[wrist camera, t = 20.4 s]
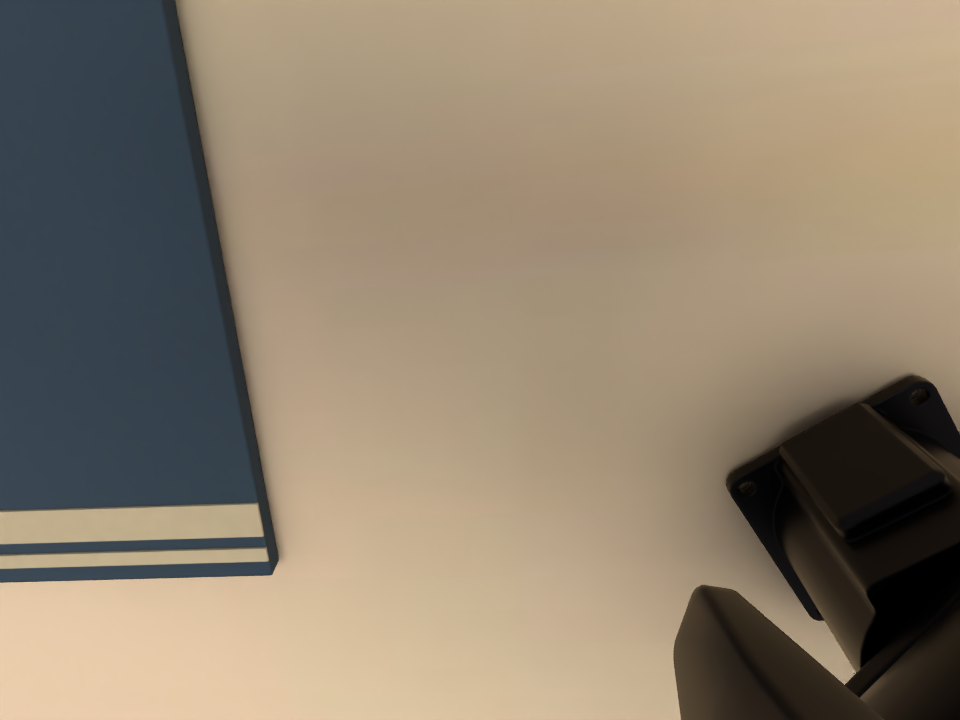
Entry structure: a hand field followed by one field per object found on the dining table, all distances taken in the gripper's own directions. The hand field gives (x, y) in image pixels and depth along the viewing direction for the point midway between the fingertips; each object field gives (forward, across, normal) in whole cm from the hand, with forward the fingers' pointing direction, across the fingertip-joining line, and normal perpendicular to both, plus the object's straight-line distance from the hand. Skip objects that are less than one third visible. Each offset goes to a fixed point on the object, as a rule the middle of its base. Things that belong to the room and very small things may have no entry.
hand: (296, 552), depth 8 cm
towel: (+13, +11, +2) cm, 17 cm away
